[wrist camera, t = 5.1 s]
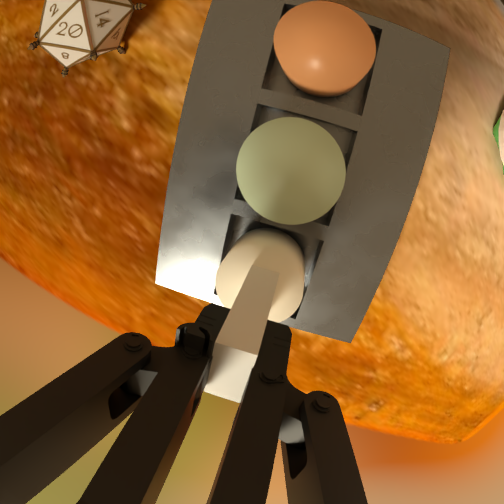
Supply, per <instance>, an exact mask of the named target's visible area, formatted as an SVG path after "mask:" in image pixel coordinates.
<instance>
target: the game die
mask: <svg viewBox="0 0 504 504" xmlns="http://www.w3.org/2000/svg"><path fill="white" fill-rule="evenodd" d="M145 6H146V5H145V4H142V3H140V4H138V3H137V4H136V5H134V4H133V3H132V2H131V0H45V2H44V7H43V11H42V16H41V21H40V27H39V32H36V34H35V35H34V37H36V38H38V39H37V41H36V42H35V41H34V42H33V43H31V44H30V46H29V48H28V49H32V50H34V48H37V46H38V45H39V46H41V47H42V48H43V49H44V50H45V51H46V52H48V53H49V54H50V55H51V56H52V57H53V58H55V59H56V60H57V61H58V62H59V63H60V64H62V65H63V66H64V69H63V70H62V73H61V74H62V75H63V78H64V77H65V76H66V75H68V68H69V67H71V66H74V65H76V64H78V63H81V62H83V61H86V60H88V59H90V60H95V61H96V59H97V57H99V55H101V54H104V53H107V52H110V51H112V50H115V49H117V50H118V52H119V53H120V54H121V53H123V54H125V48H123V47H121V46H120V43H121V41H122V38H123V35H124V33H125V30H126V28H127V25H128V23H129V21H130V18H131V16H132V13H133V11H134V9H137V10H139V9H141V10H142V8H143V7H145Z"/></svg>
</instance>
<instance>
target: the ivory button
mask: <svg viewBox="0 0 504 504" xmlns="http://www.w3.org/2000/svg"><path fill="white" fill-rule="evenodd" d="M252 265H254V266H258V267H261V268H264V269H268V270H271V271H274V272H277V273H280V274H279V278H278V282H277V286H276V289H275V293H274V297H273V301H272V305H271V309H270V312H269V316H268V320H271V321H274V322H278V323H279V322H282V321H284V320H286V319H287V318H289V317H290V316H291V315H292V314H293V313H294V312H295V311H296V310H297V308H298V307H299V305H300V303H301V301H302V297H303V290H304V277H305V258H304V254H303V252H302V250H301V248H300V246H299V245H298V243H297V242H296V241H295V240H294V239H293V238H292V237H291V236H289V235H288V234H286V233H284V232H282V231H280V230H277V229H272V228H259V229H254V230H251V231H249V232H247V233H245V234H244V235H242V236H241V237H240V238H239V239H238V240H237V241H236V243H235V244H234V245H233V247H232V248H231V250H230V251H229V253H228V254H227V255H226V257H225V258H224V260H223V261H222V263H221V264H220V266H219V268H218V270H217V273H216V278H215V287H216V292H217V295H218V298H219V300H220V302H221V303H222V305H223V306H224V307H226V308H229V309H231V308H232V305H233V303H234V301H235V299H236V297H237V295H238V293H239V291H240V289H241V287H242V285H243V282H244V280H245V278H246V276H247V274H248V272H249V270H250V268H251V266H252Z"/></svg>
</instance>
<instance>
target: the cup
mask: <svg viewBox="0 0 504 504" xmlns="http://www.w3.org/2000/svg"><path fill="white" fill-rule="evenodd" d="M493 135H494V137H495V140H496V142H497V145H498V148H499V151H500V157H501V160H502V163H503V173H504V110H503V113H502V115H501V116H500V118H499V120H498V121H497V123H496V125H495V126H494V127H493Z"/></svg>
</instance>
